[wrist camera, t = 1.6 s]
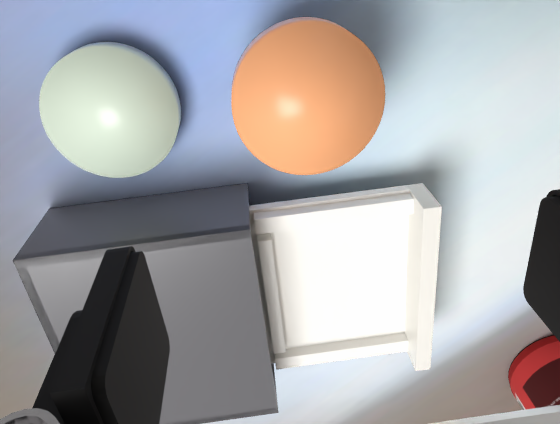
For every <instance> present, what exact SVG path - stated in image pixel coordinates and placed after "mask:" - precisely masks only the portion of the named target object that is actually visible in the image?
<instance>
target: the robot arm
mask: <svg viewBox="0 0 560 424" xmlns="http://www.w3.org/2000/svg"><path fill="white" fill-rule="evenodd" d="M523 290H524V296H525V298H526V301H527V302H528V304H529V305H530V306H531V307H532V308H533V310H534V311H535V312H536V313H537V315H538V316H539V317H540V318H541V320H542V321H543V322H544V323H545V324H546V326H547V327H548V328H549V329H550V331H551V332H552V333H553V334H554V335H555V337H556V338H557V339H558V340H559V342H560V189H559V190H552V191H551V192H549V193H548V195H547V197H545V198H543V199H542V200H541V203H540V206H539V211H538V216H537V221H536V227H535V232H534V237H533V242H532V247H531V252H530V257H529V262H528V267H527V272H526V277H525V282H524V288H523ZM169 353H170V343H169V337H168V333H167V330H166V326H165V323H164V319H163V316H162V313H161V309H160V306H159V302H158V299H157V296H156V292H155V289H154V285H153V282H152V279H151V275H150V272H149V268H148V265H147V262H146V258H145V255H144V253H143V252H142V251H140V252H136V251H135V249H134V247H132V246H130V247H122V248H115V249H108V250H106V252H105V254H104V257H103V259H102V262H101V264H100V267H99V269H98V272H97V274H96V277H95V279H94V282H93V284H92V287H91V289H90V292H89V295H88V297H87V300H86V302H85V305H84V307H83V310H80V311H76V312H74V313H73V314H72V316H71V318H70V320H69V322H68V324H67V327H66V329H65V332H64V334H63V336H62V339H61V341H60V344H59V346H58V348H57V351H56V353H55V355H54V358H53V360H52V363H51V365H50V367H49V370H48V372H47V375H46V377H45V379H44V382H43V384H42V387H41V389H40V391H39V394H38V396H37V399H36V401H35V403H34V406H33V408H32V409H24V410H20V411H17V412H14V413H11V414H9V415H7V416H5V417H3V418H2V419H0V424H159V422H160V415H161V409H162V402H163V395H164V388H165V381H166V374H167V367H168V360H169ZM430 424H560V405H555V406H548V407H541V408H533V409H526V410H520V411H513V412H506V413H499V414H492V415H485V416H478V417H471V418H464V419H458V420H451V421H444V422H437V423H430Z"/></svg>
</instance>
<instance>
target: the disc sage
mask: <svg viewBox="0 0 560 424" xmlns="http://www.w3.org/2000/svg"><path fill="white" fill-rule="evenodd" d="M39 109H40V116H41V120H42V123H43V126H44V129H45V131H46V133H47V135H48V137H49V139H50V140H51V142H52V143H53V144H54V146H55V147H56V148H57V150H58V151H59V152H60V153H61V154H62V155H63V156H64V157H66V158H67V159H68V160H69V161H70V162H72V163H73V164H75V165H76V166H78V167H80V168H82V169H84V170H85V171H88V172H90V173H93V174H96V175H100V176H104V177H111V178H125V177H132V176H136V175H139V174H142V173H145V172H147V171H149V170H151V169H152V168H154V167H155V166H157V165H158V164H159V163H160V162H161V161H163V159H164V158H165V157H166V156H167V155H168V153H169V152H170V150H171V149H172V147H173V144H174V142H175V139H176V136H177V133H178V129H179V126H180V120H181V105H180V99H179V95H178V92H177V90H176V87H175V85H174V83H173V81H172V79H171V78H170V76H169V75H168V73H167V72H166V71H165V69H164V68H163V67H162V66H161V65H160V64H159V63H158V62H157V61H156V60H154V59H153V58H152V57H151V56H149V55H148V54H146V53H144V52H143V51H141V50H139V49H137V48H135V47H132V46H129V45H126V44H122V43H117V42H96V43H91V44H88V45H85V46H82V47H80V48H78V49H76V50H74V51H73V52H71V53H69V54H68V55H66V56H65V57H63V58H62V59H61V60H59V61H58V62H57V63H56V64H55V65H54V66H53V67H52V68H51V69H50V71H49V72H48V74H47V75H46V77H45V79H44V81H43V84H42V87H41V91H40V98H39Z"/></svg>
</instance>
